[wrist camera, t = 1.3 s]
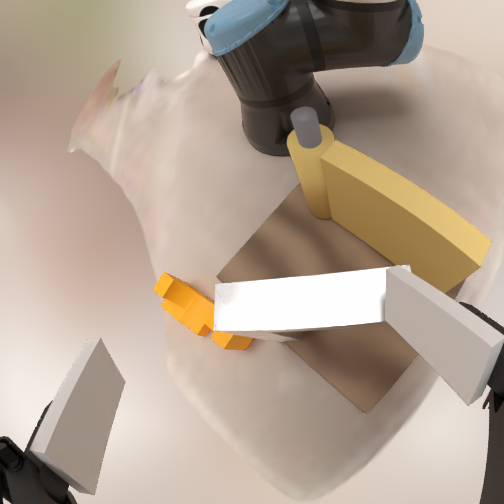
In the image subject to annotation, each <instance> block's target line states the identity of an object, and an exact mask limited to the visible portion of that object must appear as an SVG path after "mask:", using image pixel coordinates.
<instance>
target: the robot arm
mask: <svg viewBox="0 0 504 504" xmlns="http://www.w3.org/2000/svg"><path fill="white" fill-rule="evenodd" d="M421 18H422V14H421V11H420V8H419V6H418V4H417V2H416V0H232V1H230V2H229V3H227V4H225V5H224V6H222V7H221V8H219V9H218V10H217V11H215V12H214V13H213V14H212V15H211V16H210V17H209V18H208V20H207V22H206V23H205V26H204V33H205V36H206V38H207V40H208V42H209V44H210V46H211V48H212V53H213V54H214V55H215V56H216V57H217V59H218V61H219V63H220V65H221V66H222V68H223V70H224V72H225V73H226V75H227V77H228V79H229V81H230V83H231V84H232V86H233V88H234V90H235V92H236V94H237V96H238V97H239V99H240V101H241V112H242V126H243V130H244V133H245V135H246V137H247V139H248V140H249V142H250V144H251V145H252V146H253V147H254V148H256V149H257V150H259V151H261V152H263V153H266V154H270V155H276V156H287V155H290V152H289V150H288V147H287V138H288V136H289V134H290V133H291V132H292V131H293V130H294V127H293V124H292V121H291V117H290V116H291V113H292V112H293V111H294V110H295V109H297V108H299V107H311V108H313V109H314V110H315V111H316V113H317V117H318V122H319V124H321V125H324V126H326V127H327V128H329V129H330V130H332V128H333V125H334V115H333V110H332V106H331V103H330V101H329V100H328V98H327V97H326V96H325V94H324V92H323V91H322V89H321V88H320V86H319V85H318V84H317V82H316V81H315V79H314V75H313V72H318V71H325V70H334V69H344V68H356V67H372V66H381V67H385V66H387V67H388V66H391V65H398V64H407V63H409V62H411V61H413V60H414V59H415V58H416V57H417V55H418V54H419V52H420V50H421V47H422V43H423V37H424V26H423V24H422V23H421ZM385 270H386V297H385V320H386V321H387V322H388V323H389V324H390V325H391V326H392V327H393V328H394V329H395V330H396V331H397V332H398V333H399V334H400V335H401V336H402V337H403V338H404V339H405V340H406V341H407V342H408V343H409V344H410V345H411V346H412V347H413V348H414V349H415V350H416V351H417V352H418V353H419V354H420V355H421V356H422V357H423V358H424V359H425V361H426V362H427V363H428V364H429V365H430V366H431V367H432V368H433V369H434V370H435V371H436V372H437V373H438V374H439V375H440V376H441V377H442V378H443V379H444V380H445V382H446V383H447V384H448V385H449V386H450V387H451V388H452V389H453V390H454V391H455V392H456V393H457V394H458V396H459V397H460V398H461V399H462V400H463V401H464V402H465V403H466V404H467V406H469V405H470V404H472V403H473V402H474V401H475V400H477V399H478V398H479V397H481V396H482V394H483V392H484V390H485V388H486V385H488V386H489V387H490V388H491V390H490V392H489V394H488V396H487V398H486V400H485V402H484V404H483V409H485V407H486V405H487V404H488V402H489V407H488V409H489V441H488V453H487V463H486V471H485V478H484V484H483V489H482V494H481V499H480V504H504V327H502V326H501V325H499V324H498V323H497V322H495V321H494V320H492V319H491V318H488V317H487V315H485V314H484V313H481V311H479V310H478V309H476V308H475V307H473V306H472V305H469V304H466V303H463V302H459V303H458V302H456V301H455V300H453V299H452V298H450V297H449V296H447V295H446V294H444V293H443V292H441V291H439V290H438V289H436V288H435V287H433V286H432V285H430V284H429V283H427V282H425V281H424V280H422V279H421V278H419V277H418V276H416V275H414V274H413V273H411V272H410V271H408V270H406V269H405V268H403V267H401V266H400V265H397V266H394V267H391V268H387V269H385ZM124 385H125V380H124V379H123V377H122V375H121V374H120V372H119V370H118V368H117V367H116V365H115V363H114V361H113V360H112V358H111V356H110V354H109V352H108V351H107V349H106V347H105V345H104V343H103V341H102V339H101V338H94V339H88V340H87V341H86V343H85V345H84V346H83V348H82V350H81V351H80V353H79V355H78V356H77V358H76V360H75V362H74V363H73V365H72V367H71V368H70V370H69V372H68V374H67V375H66V377H65V379H64V381H63V383H62V384H61V386H60V388H59V390H58V392H57V394H56V396H55V397H54V399H53V400H52V401H51V403H50V404H49V405H48V406H47V407H46V408H45V409H44V412H43V413H42V415H41V417H40V418H41V419H40V420H39V421H38V423H37V427H35V430H34V432H33V434H32V436H31V438H30V440H29V443H28V445H27V447H26V449H25V451H24V452H23V451H22V450H21V449H20V448H19V447H18V446H17V445H16V444H15V443H14V442H13V441H12V440H11V439H10V438H9V437H5V436H3V437H0V504H3V498H5V499H6V500H7V501H9V502H10V503H11V504H77V502H76V500H75V498H74V496H73V495H72V493H71V492H70V491H68V487H69V485H70V486H72V487H73V488H74V489H76V490H77V491H78V492H81V493H86V494H91V495H95V492H96V487H97V483H98V478H99V474H100V470H101V466H102V461H103V457H104V453H105V450H106V446H107V441H108V438H109V434H110V431H111V427H112V424H113V420H114V417H115V414H116V410H117V407H118V404H119V401H120V397H121V394H122V391H123V388H124Z"/></svg>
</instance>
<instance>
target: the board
mask: <svg viewBox="0 0 504 504" xmlns="http://www.w3.org/2000/svg"><path fill="white" fill-rule="evenodd" d="M394 266H396V265H395V264H394V263H392V262H391V261H390V260H388V259H387V258H386V257H384V256H383V255H382V254H380V253H379V252H378V251H376V250H375V249H374V248H372V247H371V246H370V245H368V244H367V243H365V242H364V241H363V240H361V239H360V238H358V237H357V236H356V235H354V234H353V233H351V232H350V231H349V230H347V229H346V228H344V227H343V226H341V225H340V224H338V223H337V222H336V221H334V220H333V219H332V218H330V219H320V218H317V217H315V216H314V215H313V214H312V213H311V212H310V210H309V207H308V204H307V201H306V198H305V195H304V192H303V189H302V186H301V183H299V184H298V185H297V186H296V188H295V189H294V190H293V191H292V192H291V193H290V194H289V195H288V196H287V198H286V199H285V200H284V201H283V202H282V203H281V204H280V205H279V207H278V208H277V209H276V210H275V211H274V212H273V213H272V214H271V215H270V217H269V218H268V219H267V220H266V221H265V222H264V223H263V224H262V226H261V227H260V228H259V229H258V230H257V231H256V232H255V233H254V235H253V236H252V237H251V238H250V239H249V240H248V241H247V242H246V244H245V245H244V246H243V247H242V248H241V249H240V250H239V251H238V253H237V254H236V255H235V256H234V257H233V258H232V259H231V261H230V262H229V263H228V264H227V265H226V266H225V267H224V268H223V270H222V271H221V272H220V273H219V274H218V275H217V276H216V277H217V278H218V279H219V280H220V281H221V282H222V283H233V282H246V281H258V280H270V279H281V278H292V277H303V276H313V275H323V274H333V273H342V272H351V271H360V270H369V269H378V268H386V267H394ZM465 279H466V278H465ZM465 279H464V280H463V281H461V282H460V283H459V284H457V285H456V286H454V287H453V288H452V289H450V290H449V291H447V292H446V293H444V294H446V295H447V296H449V297H450V298H452V299H453V300H454V299H455V297H456V296H457V294H458V292H459V290H460V289H461V287H462V285H463V283H464V281H465ZM283 342H285V343H286V344H287V345H288V346H289V347H290V348H291V349H292V350H293V351H294V352H295V353H296V354H298V355H299V356H300V357H301V358H302V359H303V360H304V361H305V362H306V363H307V364H309V365H310V366H311V367H312V368H313V369H314V370H315V371H316V372H317V373H319V374H320V375H321V376H322V377H323V378H324V379H325V380H326V381H328V382H329V383H330V384H331V385H332V386H333V387H334V388H336V389H337V390H338V391H339V392H340V393H341V394H343V395H344V396H345V397H346V398H347V399H348V400H350V401H351V402H352V403H353V404H354V405H355V406H357V407H358V408H359V409H360V410H361V411H362V412H364V413H365V414H367V413H368V412H369V411H370V409H371V408H372V407H373V406H374V405H375V404H376V403H377V402H378V401H379V400H380V399H381V398H382V397H383V396H384V394H385V393H386V392H387V391H388V390H389V389H390V388H391V387H392V385H393V384H394V383H395V382H396V381H397V380H398V378H399V377H400V376H401V375H402V374H403V372H404V371H405V370H406V369H407V367H408V366H409V365H410V364H411V362H412V361H413V360H414V358H415V357H416V356H417V354H418V352H417V351H416V350H415V349H414V348H413V347H412V346H411V345H410V344H409V343H408V342H407V341H406V340H405V339H404V338H403V337H402V336H401V335H400V334H399V333H398V332H397V331H396V330H395V329H394V328H393V327H392V326H391V325H390V324H389V323H387V324H378V325H369V326H360V327H350V328H339V329H326V330H312V331H303V341H283Z"/></svg>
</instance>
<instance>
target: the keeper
mask: <svg viewBox="0 0 504 504" xmlns="http://www.w3.org/2000/svg"><path fill="white" fill-rule="evenodd" d="M401 267H403V268H405V269H406V270H408V271H410V272H411V268H410V265H402V266H401ZM387 268H391V267H386V268H378V269H369V270H360V271H351V272H342V273H333V274H323V275H313V276H303V277H292V278H281V279H270V280H258V281H246V282H233V283H220V284H215V303H214V331H218V332H224V333H229V334H234V335H240V336H245V337H251V338H257V339H263V340H269V341H276V342H283V341H303V331H312V330H326V329H339V328H350V327H360V326H369V325H378V324H387V323H388V322H387V321H386V320H385V297H386V270H385V269H387Z"/></svg>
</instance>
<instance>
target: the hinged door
mask: <svg viewBox="0 0 504 504" xmlns="http://www.w3.org/2000/svg"><path fill="white" fill-rule="evenodd" d="M290 117H291V121H292V124H293V127H294V130H293V131H292V132H291V133H290V134H289V136H288V138H287V147H288V150H289V152H290V155H291V158H292V160H293V163H294V166H295V169H296V172H297V175H298V177H299V180H300V183H301V186H302V189H303V192H304V195H305V198H306V201H307V204H308V207H309V210H310V212H311V213H312V214H313V215H314V216H315V217H317V218H320V219H330V218H332V219H333V220H334V221H336V222H337V223H338V224H340V225H341V226H343V227H344V228H346V229H347V230H349V231H350V232H351V233H353V234H354V235H356V236H357V237H358V238H360V239H361V240H363V241H364V242H365V243H367V244H368V245H370V246H371V247H372V248H374V249H375V250H376V251H378V252H379V253H380V254H382V255H383V256H384V257H386V258H387V259H388V260H390V261H391V262H392V263H394V264H395V265H396V266H397V265H400V266H402V265H410V268H411V273H413V274H414V275H416V276H418V277H419V278H421V279H422V280H424V281H425V282H427V283H429V284H430V285H432V286H433V287H435V288H436V289H438V290H439V291H441V292H443V293H446V292H447V291H449V290H450V289H452V288H453V287H454V286H456V285H457V284H459V283H460V282H461V281H463V280H464V279H465V278H467V277H468V276H469V275H471V274H472V273H473V272H475V271H476V270H477V269H478V268H480V267H481V265H482V263H483V261H484V259H485V256H486V254H487V252H488V250H489V247H490V245H491V243H492V241H491V240H490V239H489V238H487V237H486V236H485V235H484V234H483V233H481V232H480V231H479V230H478V229H477V228H475V227H474V226H473V225H472V224H470V223H469V222H468V221H466V220H465V219H464V218H463V217H461V216H460V215H459V214H457V213H456V212H455V211H453V210H452V209H450V208H449V207H448V206H446V205H445V204H444V203H442V202H441V201H439V200H438V199H436V198H435V197H434V196H432V195H431V194H429V193H428V192H426V191H425V190H423V189H422V188H420V187H419V186H417V185H415V184H414V183H412V182H411V181H409V180H408V179H406V178H404V177H403V176H401V175H399V174H398V173H396V172H394V171H393V170H391V169H389V168H388V167H386V166H384V165H383V164H381V163H379V162H377V161H375V160H374V159H372V158H370V157H368V156H366V155H364V154H363V153H361V152H359V151H357V150H355V149H353V148H351V147H349V146H347V145H345V144H343V143H341V142H339V141H337V140H334V135H333V133H332V131H331V130H330V129H329V128H327V127H326V126H324V125H321V124H319V122H318V117H317V113H316V111H315V110H314V109H313V108H311V107H299V108H297V109H295V110H294V111H293V112H292V113H291V116H290Z"/></svg>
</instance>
